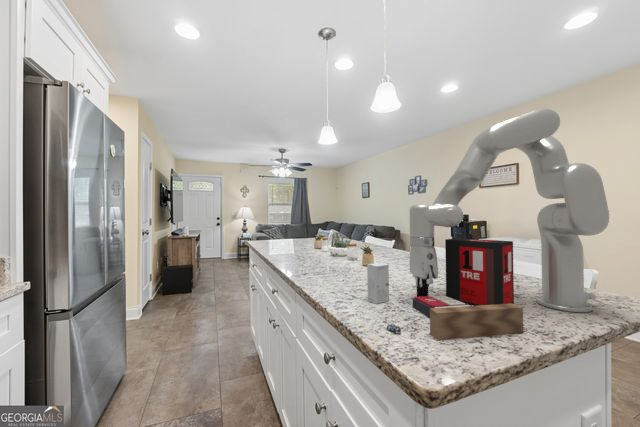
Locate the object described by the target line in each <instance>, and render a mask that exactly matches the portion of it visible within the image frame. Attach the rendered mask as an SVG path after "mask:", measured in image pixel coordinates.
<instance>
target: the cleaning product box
mask: <svg viewBox="0 0 640 427" xmlns="http://www.w3.org/2000/svg"><path fill="white" fill-rule="evenodd" d="M514 282H515V281H514V242H513V241H511V240H497V239H495V240H494V239H479V238H462V237H461V238H460V237H455V238H448V239H447V238H446V239H445V296H447V297H450V298H452V299H453V300H457V301H460V302H463V303H465V304H466V305H468V306H479V305H495V304H511V303H512V304H515V295H514V294H515V293H514V292H515V288H514V287H515V285H514Z"/></svg>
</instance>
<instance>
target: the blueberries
mask: <svg viewBox="0 0 640 427" xmlns="http://www.w3.org/2000/svg"><path fill="white" fill-rule="evenodd" d="M385 330H386V331H388V332H390V333H392V334H393V335H397V336H398V335H399V336H401V334H402V333H401V332H402V331H401V330H402V329H401V326H399V325H396V324H394V323H393V322H392V323H390V324H388V325H387V326H386V328H385ZM407 331H408V328H405V332H407Z"/></svg>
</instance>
